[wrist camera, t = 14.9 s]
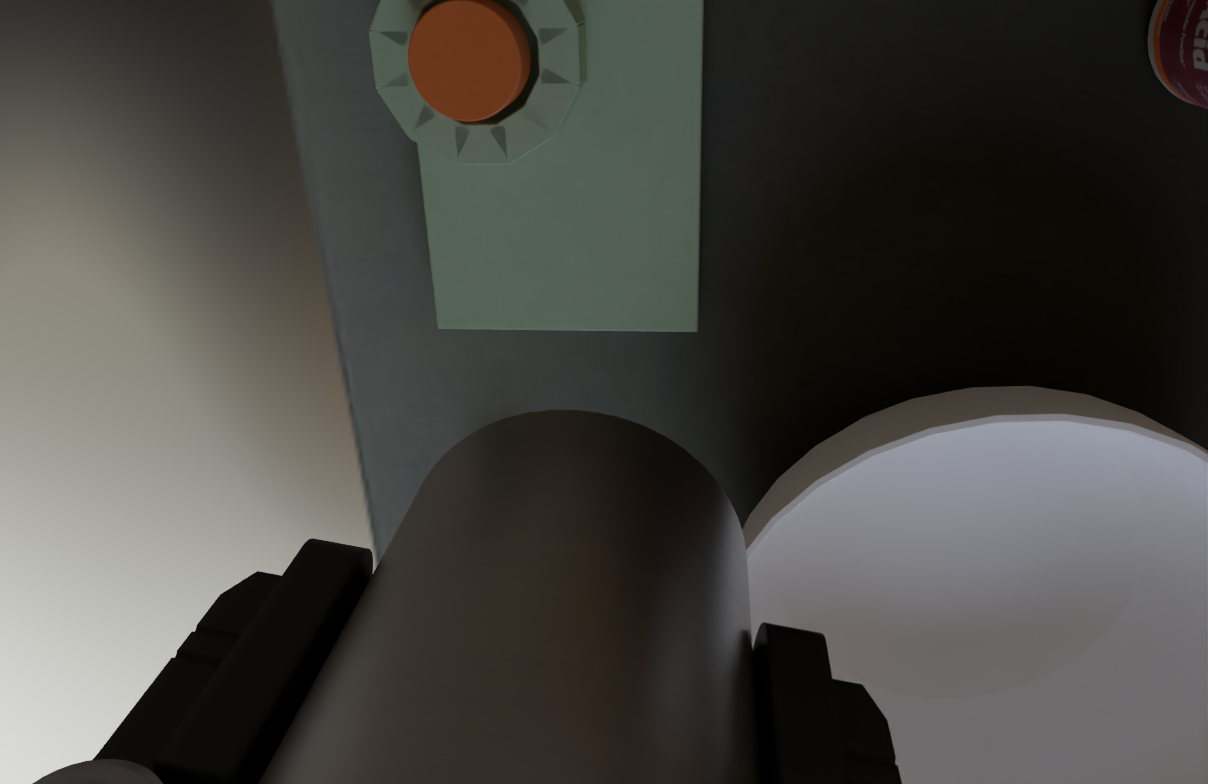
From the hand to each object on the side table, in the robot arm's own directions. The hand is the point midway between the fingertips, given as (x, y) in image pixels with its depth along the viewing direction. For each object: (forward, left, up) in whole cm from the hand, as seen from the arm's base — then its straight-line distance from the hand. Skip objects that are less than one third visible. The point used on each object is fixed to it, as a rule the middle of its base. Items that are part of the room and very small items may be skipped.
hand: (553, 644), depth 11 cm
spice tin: (0, 0, -2) cm, 2 cm away
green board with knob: (-1, -3, -22) cm, 23 cm away
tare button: (-4, -6, -19) cm, 20 cm away
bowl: (+11, +13, -22) cm, 28 cm away
